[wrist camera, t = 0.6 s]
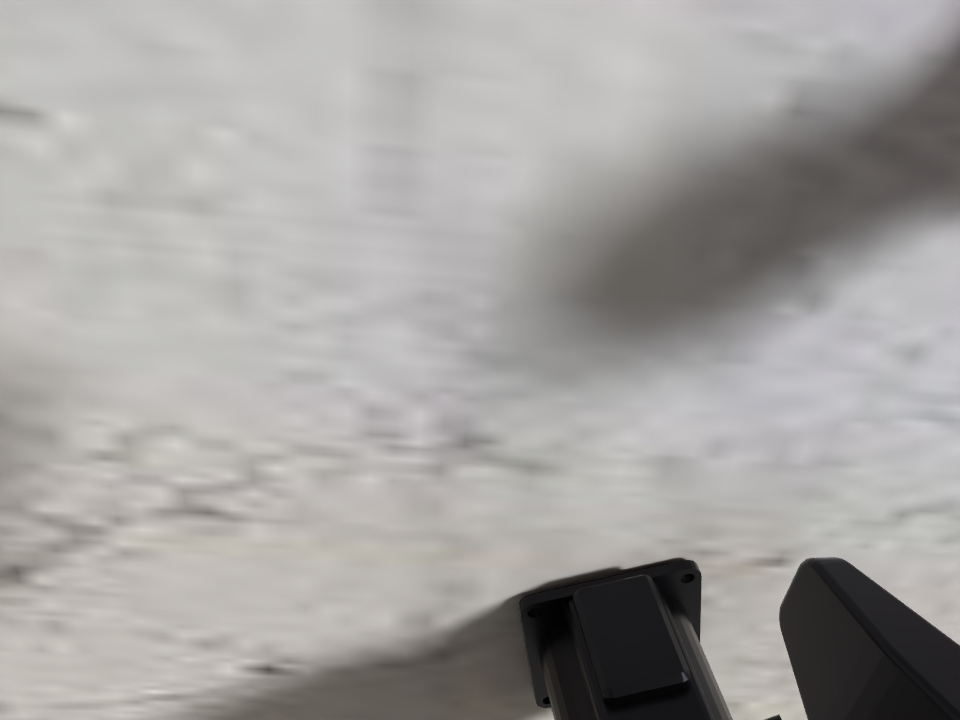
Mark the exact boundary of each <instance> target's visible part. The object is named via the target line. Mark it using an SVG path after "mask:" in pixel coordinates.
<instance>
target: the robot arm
mask: <svg viewBox="0 0 960 720" xmlns="http://www.w3.org/2000/svg"><path fill="white" fill-rule="evenodd" d="M518 607H519V613H520V618H521V624H522V629H523V635H524V640H525V646H526V651H527V657H528V662H529V668H530V673H531V679H532V684H533V690H534V695H535V699H536V703H537V705H538V706H539V707H543V708H549V707H552V711H553V715H554V719H555V720H733V719H732V717H731V714H730V712H729V710H728V707H727V705H726V703H725V700H724V698H723V696H722V693H721V691H720V689H719V686H718V684H717V682H716V679H715V677H714V675H713V672H712V670H711V668H710V665H709V663H708V661H707V659H706V656H705V654H704V652H703V649H702V647H701V645H700V616H701V572H700V570H699V568H698V566H697V564H696V563H695V562H694V561H691V560H684V561H679V562H675V563H671V564H666V565H662V566H657V567H653V568H648V569H644V570H639V571H635V572H630V573H626V574H621V575H617V576H613V577H608V578H604V579H599V580H595V581H590V582H586V583H581V584H577V585H572V586H568V587H563V588H559V589H555V590H550V591H546V592H541V593H537V594H532V595H529V596H526V597H524V598H523V599H522V600H521V601H520V602H519V606H518ZM779 621H780V628H781V632H782V635H783V638H784V642H785V645H786V648H787V652H788V655H789V658H790V662H791V665H792V668H793V672H794V675H795V678H796V682H797V685H798V688H799V692H800V695H801V698H802V702H803V705H804V708H805V712H806V715H807V718H808V720H960V645H958V644H957V643H956V642H954V641H953V640H952V639H950V638H949V637H948V636H946V635H945V634H944V633H942V632H941V631H940V630H938V629H937V628H936V627H934V626H933V625H932V624H930V623H929V622H928V621H926V620H925V619H924V618H922V617H921V616H920V615H918V614H917V613H916V612H914V611H913V610H912V609H910V608H909V607H908V606H906V605H905V604H904V603H902V602H901V601H900V600H898V599H897V598H896V597H894V596H893V595H892V594H890V593H889V592H888V591H886V590H885V589H883V588H882V587H881V586H879V585H878V584H877V583H875V582H874V581H873V580H871V579H870V578H869V577H867V576H866V575H865V574H863V573H862V572H861V571H859V570H858V569H857V568H855V567H854V566H853V565H851V564H850V563H848V562H847V561H845V560H843V559H841V558H835V557H829V558H809V559H806V560H805V561H804V562H802V563H801V565H800V566H799V568H798V570H797V572H796V574H795V576H794V578H793V581H792V583H791V585H790V587H789V589H788V591H787V593H786V595H785V597H784V599H783V602H782V604H781V607H780V613H779ZM765 720H782V719H781V717H780V716H779V715H776V716H773V717H771V718H768V719H765Z"/></svg>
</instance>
